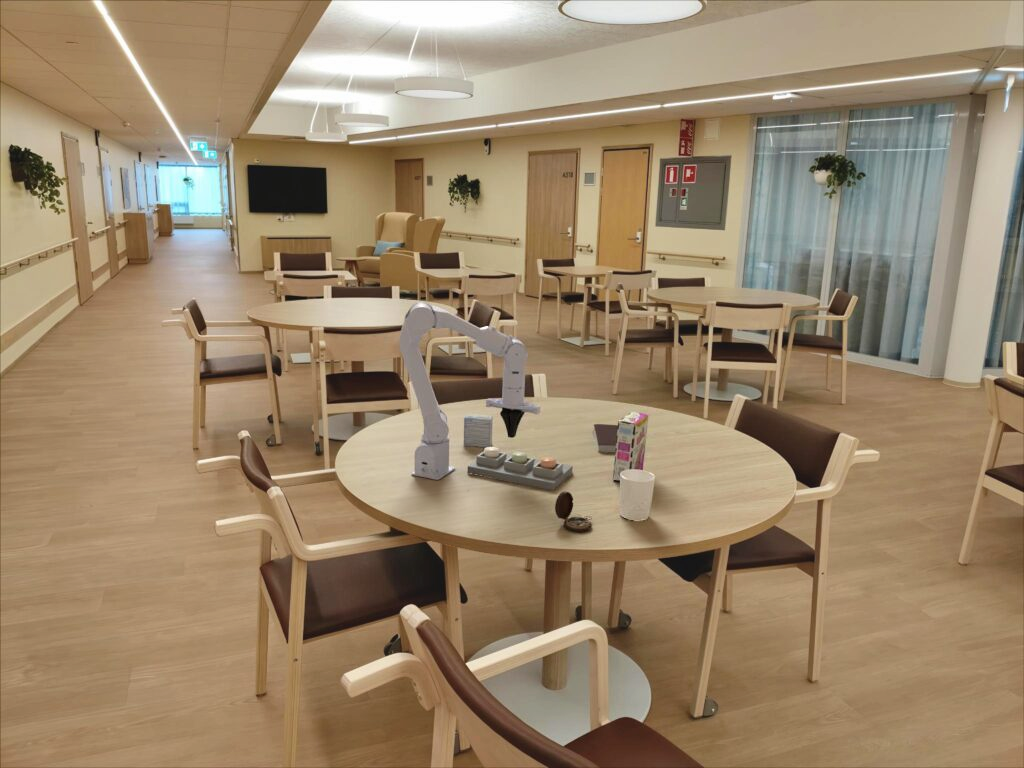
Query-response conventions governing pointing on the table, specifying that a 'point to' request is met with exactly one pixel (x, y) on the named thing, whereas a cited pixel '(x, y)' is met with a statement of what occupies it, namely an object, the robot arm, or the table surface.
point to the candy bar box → (630, 443)
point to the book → (605, 437)
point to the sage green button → (519, 457)
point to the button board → (520, 471)
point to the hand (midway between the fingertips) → (511, 436)
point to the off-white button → (491, 452)
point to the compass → (564, 510)
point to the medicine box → (478, 430)
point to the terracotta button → (548, 463)
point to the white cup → (636, 493)
